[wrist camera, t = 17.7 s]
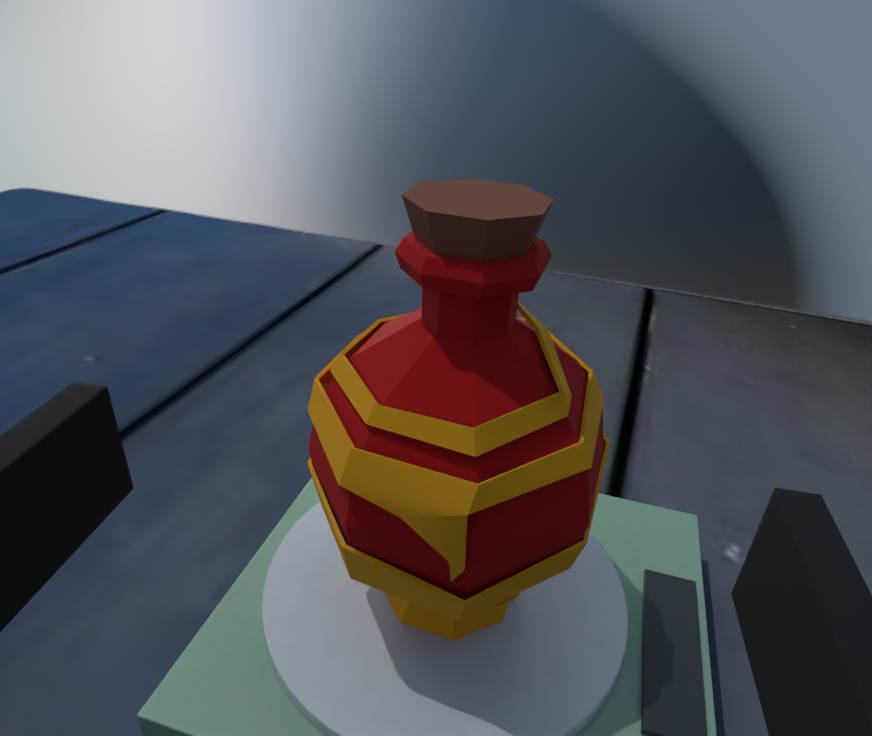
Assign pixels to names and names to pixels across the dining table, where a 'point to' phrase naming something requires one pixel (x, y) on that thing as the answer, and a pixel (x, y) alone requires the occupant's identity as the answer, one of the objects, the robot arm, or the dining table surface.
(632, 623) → the kitchen scale
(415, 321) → the potion bottle
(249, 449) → the dining table surface
